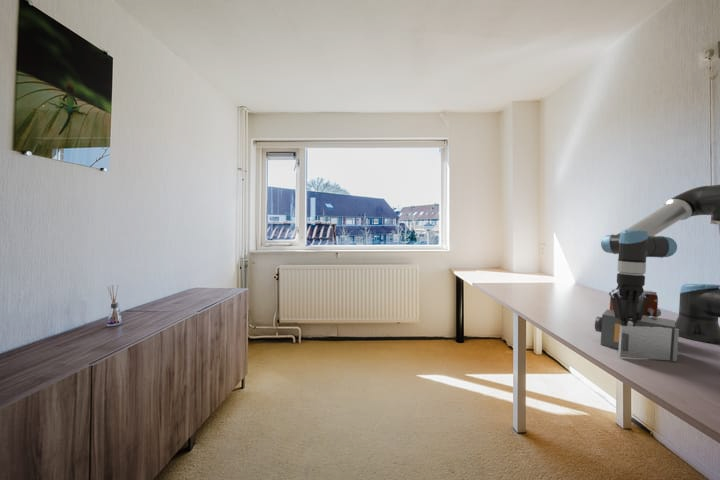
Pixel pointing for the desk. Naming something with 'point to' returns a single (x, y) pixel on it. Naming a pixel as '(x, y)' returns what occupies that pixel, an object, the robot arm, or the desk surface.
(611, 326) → the grey cabinet with knob
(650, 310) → the cine camera
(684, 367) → the desk surface
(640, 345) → the side door
